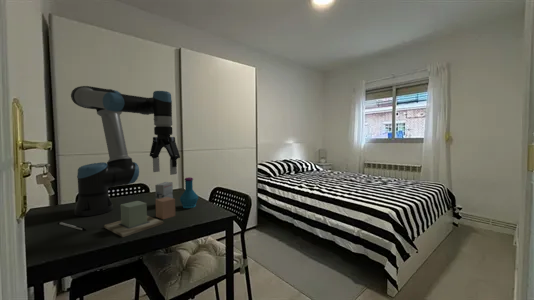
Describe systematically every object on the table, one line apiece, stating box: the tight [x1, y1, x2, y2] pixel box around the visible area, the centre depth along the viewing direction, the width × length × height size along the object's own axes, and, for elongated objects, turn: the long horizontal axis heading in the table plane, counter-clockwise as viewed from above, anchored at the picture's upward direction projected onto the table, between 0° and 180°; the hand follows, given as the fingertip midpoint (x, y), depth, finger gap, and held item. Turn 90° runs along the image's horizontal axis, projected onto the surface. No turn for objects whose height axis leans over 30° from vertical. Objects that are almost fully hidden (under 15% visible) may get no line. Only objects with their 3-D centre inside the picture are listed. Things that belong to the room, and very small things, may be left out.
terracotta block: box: [155, 197, 176, 220], centre depth 108 cm, size 6×6×8 cm
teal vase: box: [179, 176, 199, 209], centre depth 123 cm, size 9×9×15 cm
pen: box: [58, 222, 87, 231], centre depth 96 cm, size 1×19×1 cm, turn 67°
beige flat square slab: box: [103, 215, 164, 238], centre depth 97 cm, size 16×16×1 cm
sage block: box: [120, 200, 148, 228], centre depth 97 cm, size 7×7×8 cm
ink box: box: [154, 181, 174, 200], centre depth 126 cm, size 9×5×12 cm, turn 168°
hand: (164, 173), depth 107 cm, fingers open, 13 cm apart
